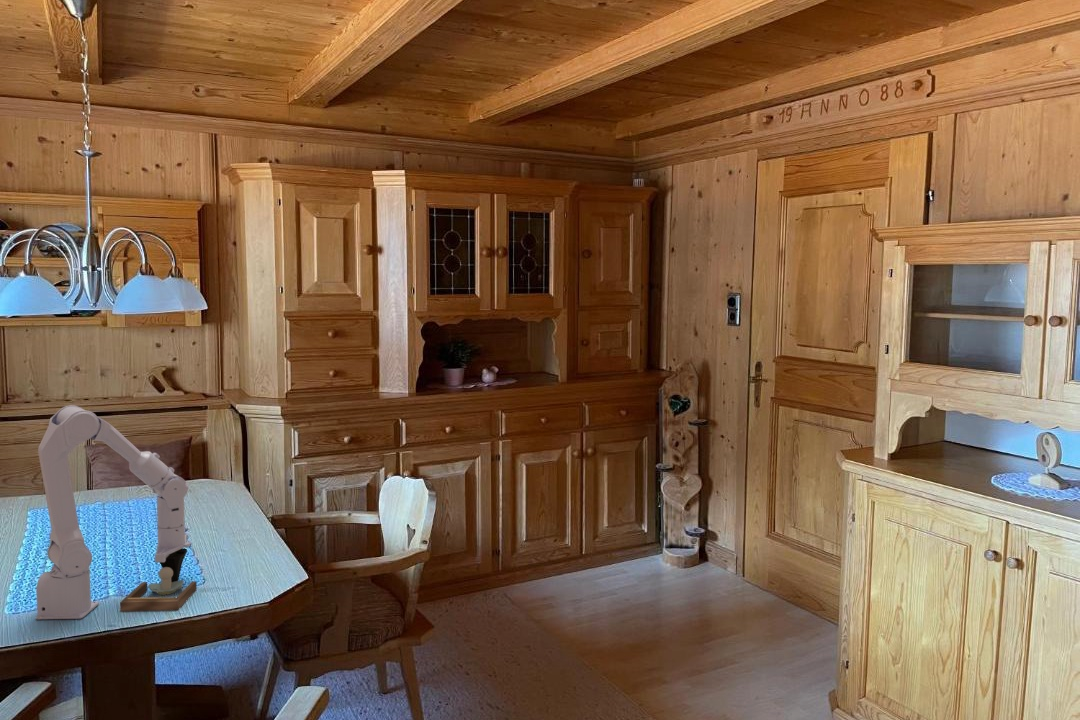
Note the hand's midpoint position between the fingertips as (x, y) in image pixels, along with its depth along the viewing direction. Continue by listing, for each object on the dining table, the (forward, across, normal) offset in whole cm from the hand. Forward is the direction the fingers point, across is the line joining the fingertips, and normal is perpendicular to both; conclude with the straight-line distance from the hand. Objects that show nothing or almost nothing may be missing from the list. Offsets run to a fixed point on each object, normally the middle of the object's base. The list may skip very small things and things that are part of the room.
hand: (172, 581), depth 183 cm
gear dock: (+1, -7, 0) cm, 7 cm away
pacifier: (+1, -3, 0) cm, 3 cm away
